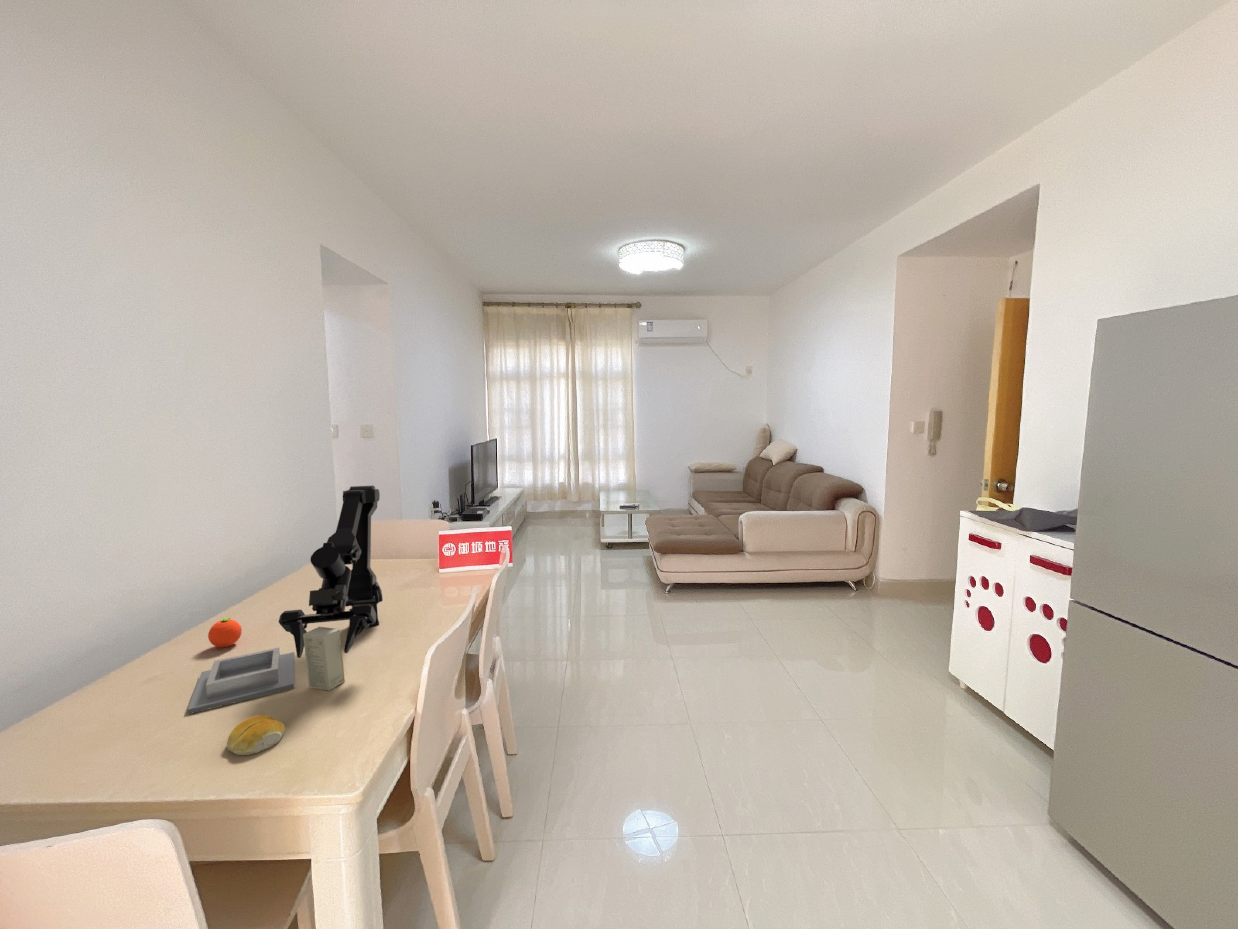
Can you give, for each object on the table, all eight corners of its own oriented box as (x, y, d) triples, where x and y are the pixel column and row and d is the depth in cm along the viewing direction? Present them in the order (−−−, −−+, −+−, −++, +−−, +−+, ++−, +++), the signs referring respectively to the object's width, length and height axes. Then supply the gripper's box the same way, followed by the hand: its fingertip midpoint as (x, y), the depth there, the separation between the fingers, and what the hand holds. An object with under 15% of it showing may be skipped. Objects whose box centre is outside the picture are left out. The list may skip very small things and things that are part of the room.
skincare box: (345, 681, 116) (341, 629, 114) (328, 692, 111) (324, 637, 110) (324, 677, 118) (320, 625, 116) (306, 687, 113) (302, 633, 112)
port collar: (280, 659, 124) (279, 647, 124) (278, 682, 114) (277, 668, 114) (215, 673, 118) (214, 661, 118) (207, 699, 107) (205, 685, 107)
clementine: (215, 641, 137) (212, 615, 137) (247, 636, 140) (244, 611, 139) (205, 654, 130) (202, 627, 129) (238, 649, 133) (236, 622, 132)
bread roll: (268, 723, 101) (266, 703, 100) (292, 738, 96) (290, 717, 96) (218, 746, 94) (216, 725, 93) (240, 763, 89) (238, 741, 89)
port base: (294, 655, 128) (294, 652, 128) (294, 688, 113) (293, 683, 113) (202, 676, 119) (201, 672, 119) (187, 714, 104) (187, 709, 104)
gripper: (278, 576, 114) (259, 646, 105) (370, 569, 118) (360, 636, 109) (295, 598, 123) (279, 665, 113) (380, 591, 127) (371, 655, 117)
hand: (322, 655), depth 113 cm, fingers open, 9 cm apart
